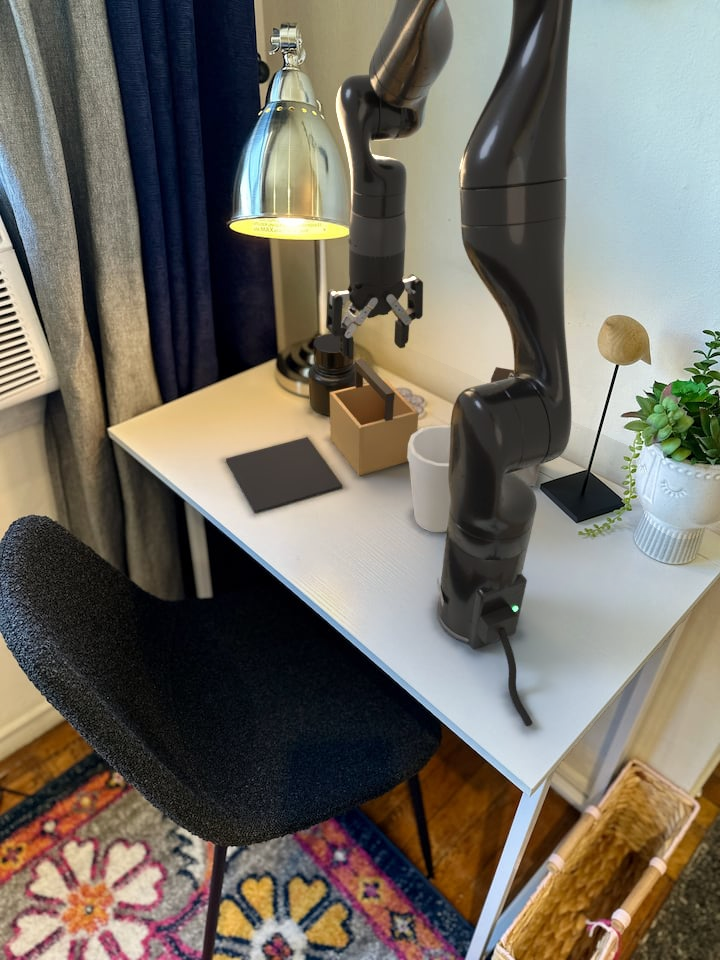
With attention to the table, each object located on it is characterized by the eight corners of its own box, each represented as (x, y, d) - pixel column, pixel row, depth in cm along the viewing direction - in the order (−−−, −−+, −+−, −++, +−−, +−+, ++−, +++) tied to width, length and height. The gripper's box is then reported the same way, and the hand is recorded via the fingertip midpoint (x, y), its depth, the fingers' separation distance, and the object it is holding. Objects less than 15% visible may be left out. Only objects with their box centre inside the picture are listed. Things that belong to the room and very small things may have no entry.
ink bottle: (342, 384, 133) (342, 325, 125) (371, 405, 127) (372, 345, 120) (298, 401, 128) (295, 340, 121) (325, 423, 123) (324, 361, 115)
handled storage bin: (415, 459, 115) (420, 385, 107) (358, 475, 112) (359, 401, 103) (384, 424, 123) (386, 352, 114) (330, 438, 119) (329, 366, 111)
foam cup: (392, 525, 103) (396, 452, 95) (419, 489, 109) (425, 418, 101) (454, 548, 99) (464, 474, 91) (478, 509, 106) (489, 437, 98)
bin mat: (342, 487, 110) (342, 485, 109) (254, 513, 105) (254, 511, 104) (307, 438, 119) (307, 437, 119) (226, 460, 115) (225, 458, 114)
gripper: (340, 262, 91) (340, 373, 101) (437, 245, 96) (428, 353, 106) (317, 242, 96) (319, 350, 106) (410, 226, 101) (404, 331, 111)
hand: (374, 351), depth 106 cm, fingers open, 8 cm apart
